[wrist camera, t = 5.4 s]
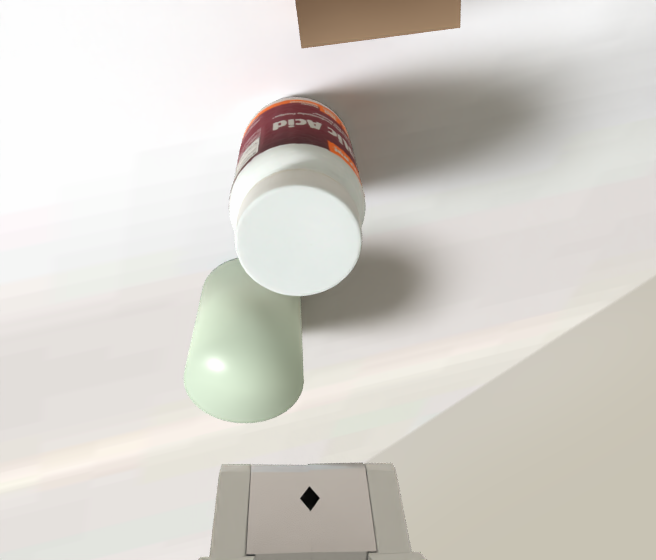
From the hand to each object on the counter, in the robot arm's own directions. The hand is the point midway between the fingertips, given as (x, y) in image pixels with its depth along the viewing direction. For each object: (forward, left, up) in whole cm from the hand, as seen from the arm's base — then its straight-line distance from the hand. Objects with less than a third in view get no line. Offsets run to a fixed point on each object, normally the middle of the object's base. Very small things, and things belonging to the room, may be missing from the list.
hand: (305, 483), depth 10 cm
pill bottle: (0, 0, -18) cm, 18 cm away
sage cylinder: (+8, -2, -17) cm, 19 cm away
